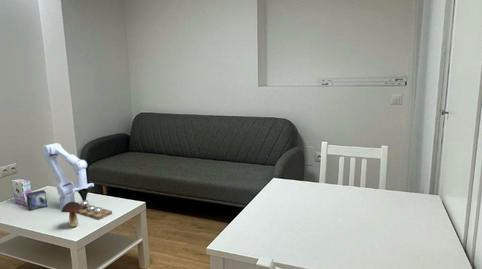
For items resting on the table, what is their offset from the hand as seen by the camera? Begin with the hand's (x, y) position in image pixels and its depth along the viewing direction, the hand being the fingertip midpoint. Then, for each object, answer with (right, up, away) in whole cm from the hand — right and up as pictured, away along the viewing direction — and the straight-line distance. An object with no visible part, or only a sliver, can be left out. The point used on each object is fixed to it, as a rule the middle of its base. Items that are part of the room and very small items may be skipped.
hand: (84, 200), depth 223 cm
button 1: (0, -5, +1) cm, 5 cm away
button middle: (+6, -8, -2) cm, 10 cm away
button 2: (+11, -8, -5) cm, 15 cm away
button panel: (+6, -8, -2) cm, 10 cm away
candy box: (-50, -6, +19) cm, 54 cm away
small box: (-35, -7, +10) cm, 37 cm away
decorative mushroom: (+4, -11, -21) cm, 24 cm away
